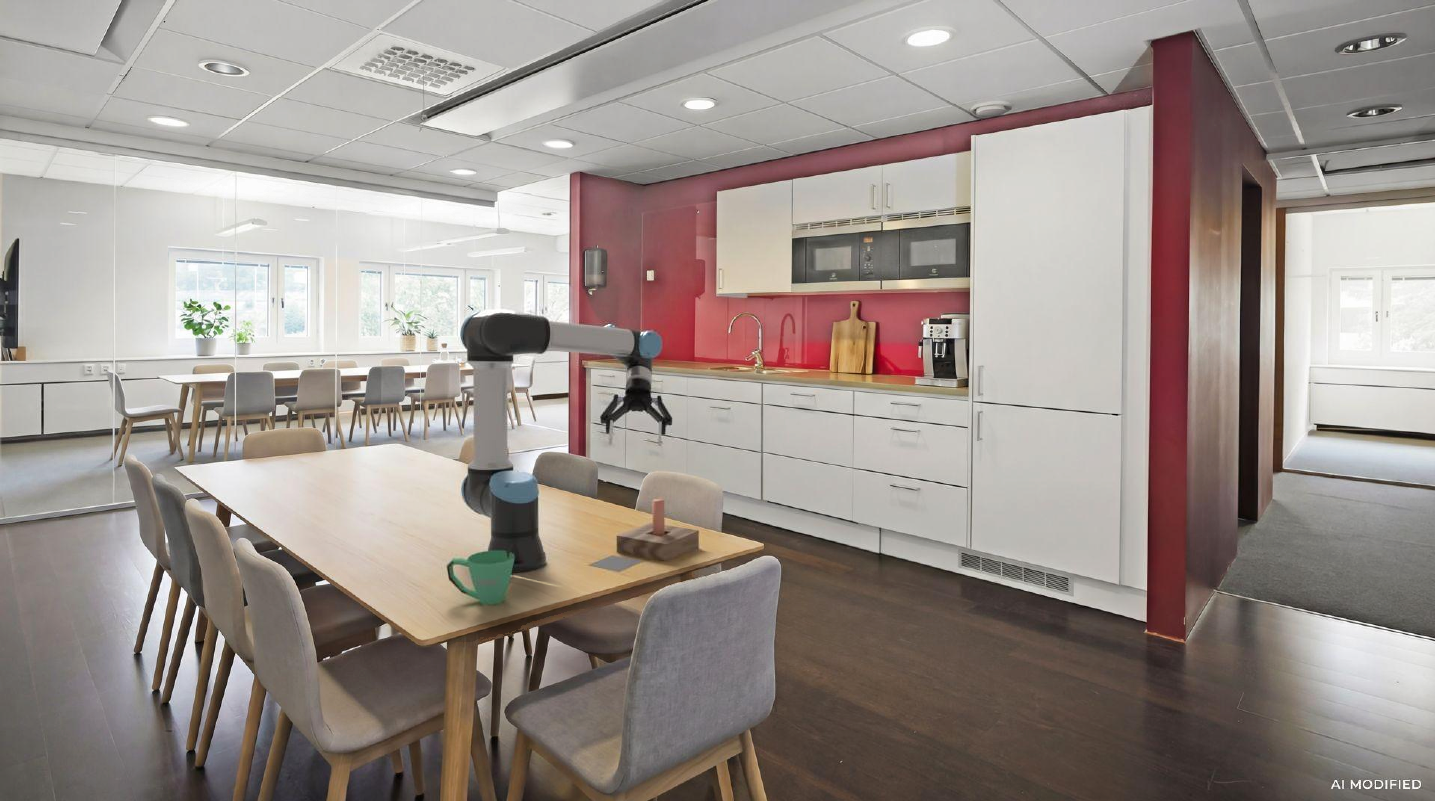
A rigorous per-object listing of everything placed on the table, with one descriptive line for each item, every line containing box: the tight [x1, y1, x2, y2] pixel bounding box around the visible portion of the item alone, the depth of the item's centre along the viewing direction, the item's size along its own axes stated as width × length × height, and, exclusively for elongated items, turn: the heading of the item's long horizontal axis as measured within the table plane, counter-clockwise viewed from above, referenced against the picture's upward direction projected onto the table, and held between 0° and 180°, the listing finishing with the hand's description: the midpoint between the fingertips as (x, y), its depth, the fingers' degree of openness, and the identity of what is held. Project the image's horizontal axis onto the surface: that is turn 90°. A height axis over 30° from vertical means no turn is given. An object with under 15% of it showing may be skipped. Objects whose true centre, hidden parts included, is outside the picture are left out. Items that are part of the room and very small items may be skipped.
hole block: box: [616, 522, 700, 562], centre depth 202 cm, size 16×16×5 cm
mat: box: [588, 554, 644, 572], centre depth 190 cm, size 10×10×1 cm
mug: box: [446, 550, 514, 606], centre depth 163 cm, size 15×10×10 cm
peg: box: [652, 498, 666, 536], centre depth 202 cm, size 3×3×14 cm
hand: (635, 442), depth 205 cm, fingers open, 13 cm apart
